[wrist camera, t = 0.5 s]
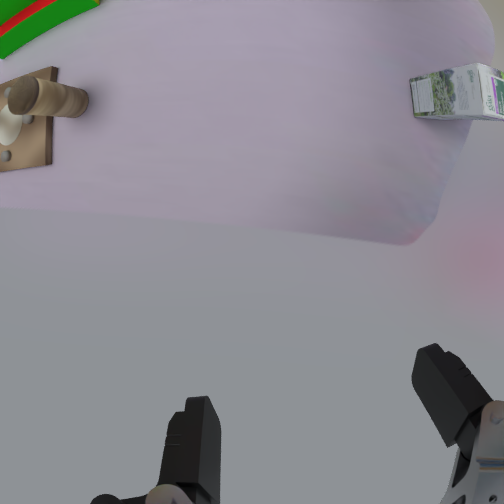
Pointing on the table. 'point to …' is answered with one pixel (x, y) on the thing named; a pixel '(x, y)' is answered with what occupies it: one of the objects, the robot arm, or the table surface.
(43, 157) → the walnut base board
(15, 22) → the building blocks toy
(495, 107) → the syrup box
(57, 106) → the oak post
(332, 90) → the table surface
